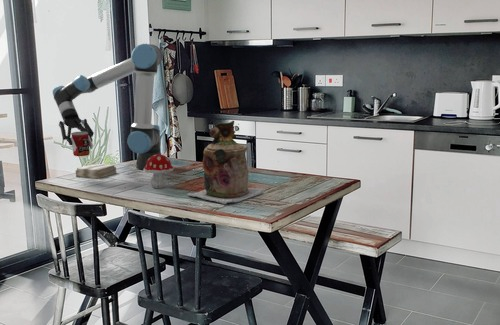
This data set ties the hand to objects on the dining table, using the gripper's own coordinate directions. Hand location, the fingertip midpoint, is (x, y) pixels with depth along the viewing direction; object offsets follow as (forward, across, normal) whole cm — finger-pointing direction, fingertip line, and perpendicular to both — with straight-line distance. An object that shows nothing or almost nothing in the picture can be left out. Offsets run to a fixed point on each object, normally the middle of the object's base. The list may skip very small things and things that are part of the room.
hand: (83, 148), depth 258 cm
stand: (+6, -8, -16) cm, 19 cm away
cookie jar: (+61, -33, +39) cm, 80 cm away
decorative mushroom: (+38, -19, +16) cm, 45 cm away
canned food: (0, 0, -5) cm, 5 cm away
